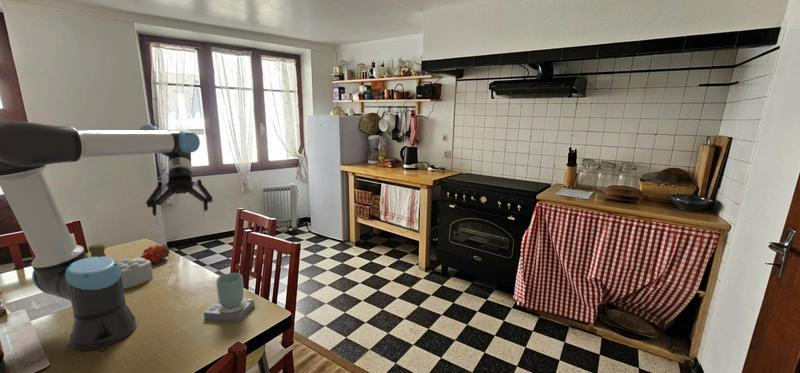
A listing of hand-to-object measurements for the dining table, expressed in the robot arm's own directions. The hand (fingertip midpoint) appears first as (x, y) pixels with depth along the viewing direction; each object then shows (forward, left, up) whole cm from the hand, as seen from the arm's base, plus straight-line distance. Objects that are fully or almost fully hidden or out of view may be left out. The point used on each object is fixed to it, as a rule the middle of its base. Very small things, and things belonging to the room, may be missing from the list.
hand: (181, 220), depth 119 cm
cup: (-8, -22, -27) cm, 35 cm away
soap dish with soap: (-8, -21, -29) cm, 37 cm away
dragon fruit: (+24, +35, -30) cm, 52 cm away
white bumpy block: (+6, +30, -30) cm, 43 cm away
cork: (+15, +53, -30) cm, 62 cm away
